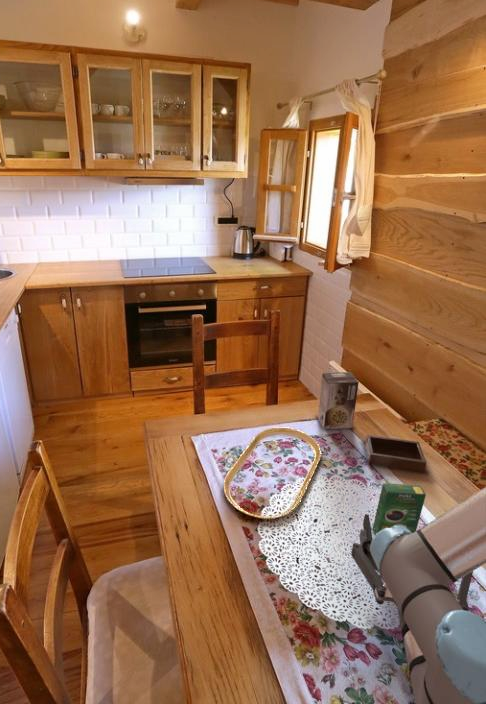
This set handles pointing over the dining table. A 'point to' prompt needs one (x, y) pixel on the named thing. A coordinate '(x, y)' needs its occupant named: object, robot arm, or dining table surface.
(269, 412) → the dining table surface
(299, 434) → the oval frame
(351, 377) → the coffee box
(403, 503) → the coffee box
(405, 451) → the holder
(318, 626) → the dining table surface
